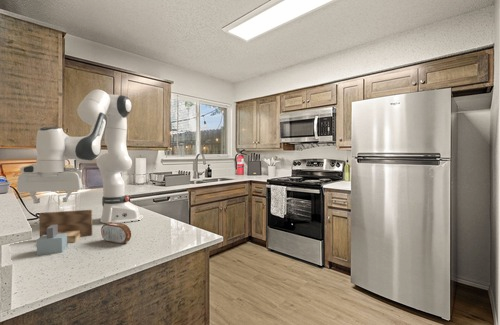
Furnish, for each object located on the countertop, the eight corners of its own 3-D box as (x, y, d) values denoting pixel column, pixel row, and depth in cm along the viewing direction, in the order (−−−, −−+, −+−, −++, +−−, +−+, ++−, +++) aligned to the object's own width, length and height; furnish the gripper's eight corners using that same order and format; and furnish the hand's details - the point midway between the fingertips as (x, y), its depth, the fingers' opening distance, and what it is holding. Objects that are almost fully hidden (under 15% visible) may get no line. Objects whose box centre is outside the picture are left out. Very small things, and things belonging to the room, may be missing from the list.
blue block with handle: (67, 247, 104) (66, 223, 103) (61, 252, 98) (61, 227, 98) (43, 249, 101) (43, 225, 101) (36, 255, 95) (36, 229, 95)
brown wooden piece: (92, 234, 120) (92, 209, 120) (87, 240, 111) (86, 214, 111) (41, 239, 113) (40, 212, 112) (31, 246, 104) (30, 217, 104)
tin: (131, 243, 109) (131, 224, 109) (126, 245, 106) (125, 226, 106) (105, 239, 114) (105, 220, 114) (99, 241, 111) (99, 222, 111)
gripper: (84, 167, 105) (84, 199, 105) (23, 167, 98) (23, 202, 98) (79, 168, 99) (79, 202, 100) (14, 168, 92) (15, 205, 92)
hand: (51, 202), depth 99 cm, fingers open, 8 cm apart
